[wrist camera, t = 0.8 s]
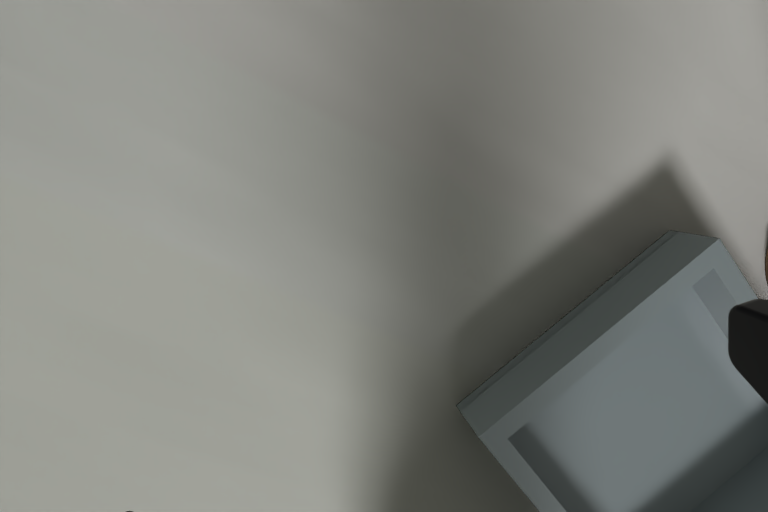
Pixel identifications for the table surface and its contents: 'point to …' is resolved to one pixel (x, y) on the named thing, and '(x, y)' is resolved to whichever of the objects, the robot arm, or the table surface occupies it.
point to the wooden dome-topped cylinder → (766, 265)
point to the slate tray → (635, 395)
